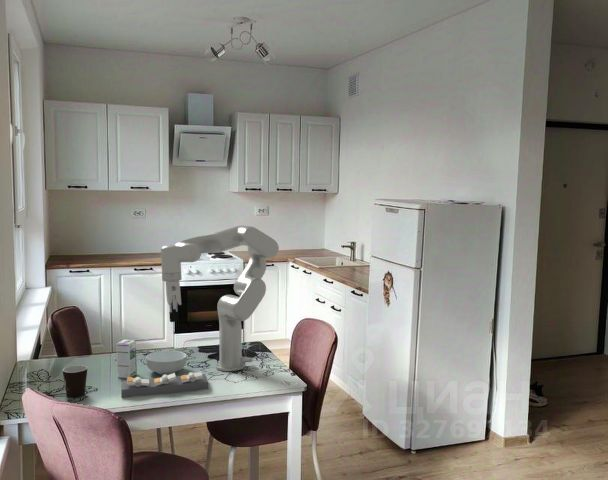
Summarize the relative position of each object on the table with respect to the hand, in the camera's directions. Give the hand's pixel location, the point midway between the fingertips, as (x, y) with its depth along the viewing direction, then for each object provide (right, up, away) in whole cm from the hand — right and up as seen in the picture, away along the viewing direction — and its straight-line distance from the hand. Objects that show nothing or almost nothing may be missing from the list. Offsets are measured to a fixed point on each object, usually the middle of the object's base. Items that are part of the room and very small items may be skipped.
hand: (174, 321), depth 228 cm
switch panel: (-2, -25, -9) cm, 26 cm away
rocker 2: (+9, -22, -8) cm, 25 cm away
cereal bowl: (-6, -23, +12) cm, 27 cm away
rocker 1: (-11, -22, -14) cm, 28 cm away
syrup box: (-21, -24, +6) cm, 32 cm away
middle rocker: (-1, -22, -11) cm, 24 cm away
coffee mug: (-33, -25, -14) cm, 44 cm away
